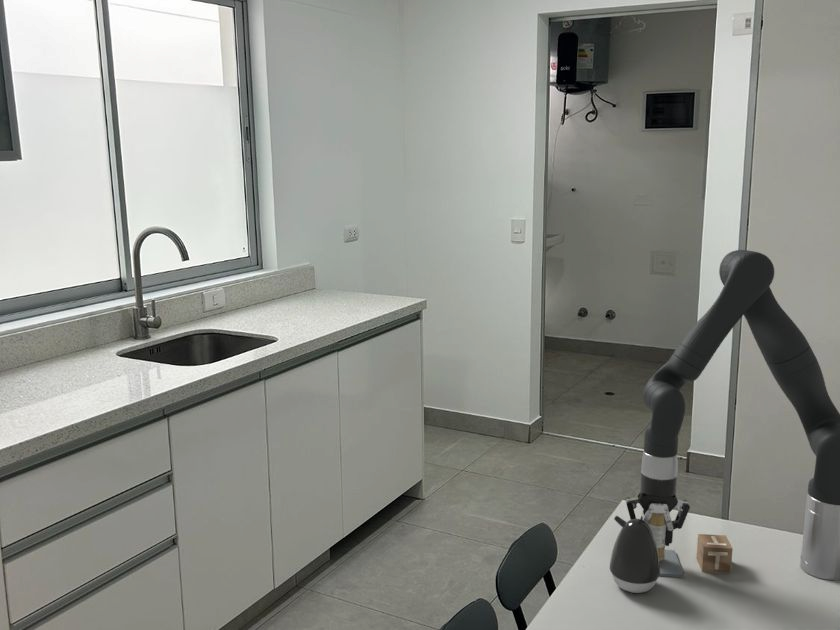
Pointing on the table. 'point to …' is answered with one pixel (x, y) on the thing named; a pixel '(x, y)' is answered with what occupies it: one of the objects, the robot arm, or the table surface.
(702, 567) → the walnut letter cube
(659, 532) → the sprinkles bottle
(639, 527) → the pump dispenser
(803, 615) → the table surface
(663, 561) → the blue-grey square plate
